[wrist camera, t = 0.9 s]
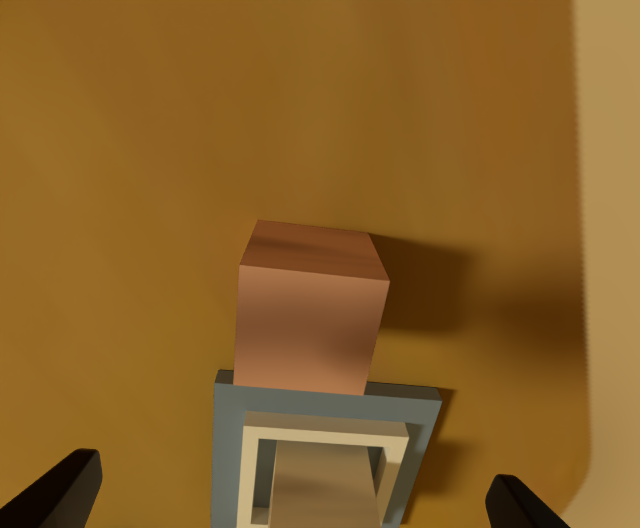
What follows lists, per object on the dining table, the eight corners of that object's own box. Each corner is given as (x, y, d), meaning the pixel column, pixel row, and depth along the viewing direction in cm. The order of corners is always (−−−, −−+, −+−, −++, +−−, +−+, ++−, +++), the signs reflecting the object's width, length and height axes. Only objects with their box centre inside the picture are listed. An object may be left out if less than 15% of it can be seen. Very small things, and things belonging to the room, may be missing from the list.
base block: (351, 501, 23) (362, 602, 18) (270, 497, 22) (261, 599, 18) (366, 443, 21) (383, 539, 16) (277, 437, 20) (269, 534, 16)
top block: (349, 324, 19) (363, 395, 14) (251, 314, 19) (233, 385, 14) (367, 232, 17) (390, 281, 12) (258, 219, 17) (239, 264, 12)
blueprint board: (391, 523, 25) (398, 556, 24) (214, 514, 24) (206, 547, 23) (436, 387, 21) (449, 415, 19) (218, 369, 20) (209, 397, 18)
